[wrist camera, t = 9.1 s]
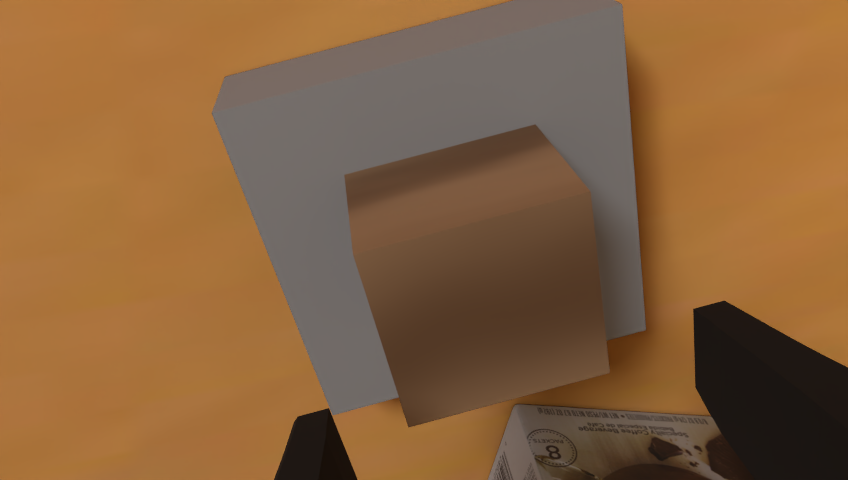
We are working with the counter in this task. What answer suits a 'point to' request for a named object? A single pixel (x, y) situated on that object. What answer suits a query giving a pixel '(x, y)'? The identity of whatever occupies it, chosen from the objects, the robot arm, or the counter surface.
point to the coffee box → (613, 446)
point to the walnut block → (479, 272)
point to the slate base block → (421, 133)
